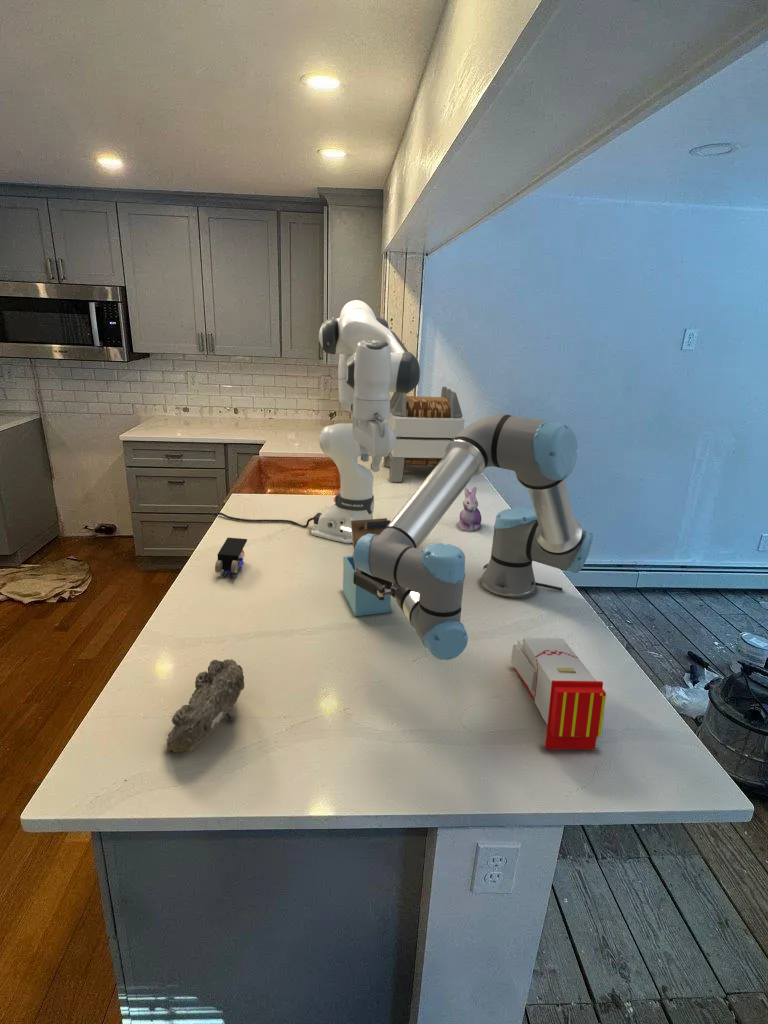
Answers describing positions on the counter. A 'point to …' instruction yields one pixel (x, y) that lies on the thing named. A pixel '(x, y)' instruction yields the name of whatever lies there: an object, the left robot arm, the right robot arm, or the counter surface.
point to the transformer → (421, 430)
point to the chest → (361, 594)
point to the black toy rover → (230, 556)
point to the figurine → (470, 512)
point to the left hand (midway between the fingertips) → (369, 465)
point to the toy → (561, 692)
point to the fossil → (206, 705)
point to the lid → (367, 529)
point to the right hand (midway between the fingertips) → (387, 558)
